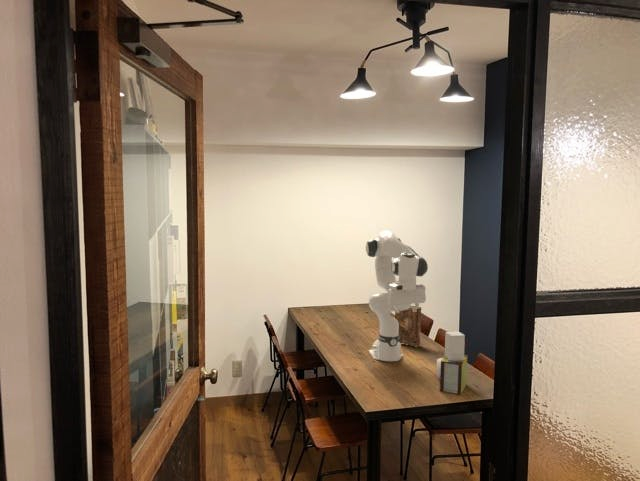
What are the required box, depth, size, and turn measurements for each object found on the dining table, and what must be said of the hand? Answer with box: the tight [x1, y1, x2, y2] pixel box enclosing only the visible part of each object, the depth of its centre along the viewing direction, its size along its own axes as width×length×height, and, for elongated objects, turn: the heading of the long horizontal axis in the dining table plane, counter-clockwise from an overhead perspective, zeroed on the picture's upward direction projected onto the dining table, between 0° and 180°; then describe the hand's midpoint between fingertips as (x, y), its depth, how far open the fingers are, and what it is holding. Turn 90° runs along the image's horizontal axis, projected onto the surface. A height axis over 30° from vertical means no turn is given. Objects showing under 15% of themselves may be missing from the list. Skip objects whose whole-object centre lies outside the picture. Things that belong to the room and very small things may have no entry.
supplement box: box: [444, 331, 466, 361], centre depth 241 cm, size 7×7×13 cm
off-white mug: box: [436, 357, 443, 380], centre depth 259 cm, size 10×8×9 cm
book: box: [394, 305, 422, 347], centre depth 314 cm, size 16×6×25 cm, turn 55°
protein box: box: [439, 354, 468, 396], centre depth 243 cm, size 10×15×16 cm
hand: (406, 312), depth 245 cm, fingers open, 8 cm apart
